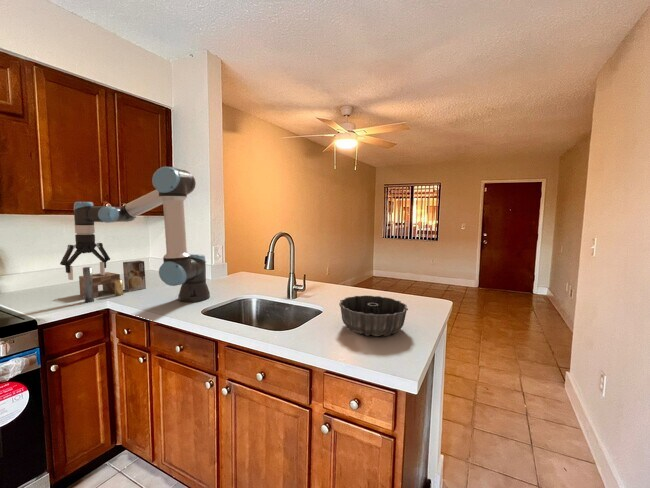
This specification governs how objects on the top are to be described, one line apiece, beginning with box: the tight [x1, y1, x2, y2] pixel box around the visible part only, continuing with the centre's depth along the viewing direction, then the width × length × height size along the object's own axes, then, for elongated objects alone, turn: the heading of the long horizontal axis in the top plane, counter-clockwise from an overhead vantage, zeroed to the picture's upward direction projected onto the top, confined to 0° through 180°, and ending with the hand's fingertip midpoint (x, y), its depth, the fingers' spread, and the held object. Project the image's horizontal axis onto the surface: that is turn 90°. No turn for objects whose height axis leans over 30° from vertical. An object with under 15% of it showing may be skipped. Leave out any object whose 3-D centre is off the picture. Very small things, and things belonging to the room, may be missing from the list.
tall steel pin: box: [82, 266, 95, 303], centre depth 153 cm, size 4×4×17 cm
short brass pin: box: [114, 279, 124, 297], centre depth 165 cm, size 4×4×8 cm
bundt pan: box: [338, 295, 409, 337], centre depth 122 cm, size 26×26×10 cm
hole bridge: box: [78, 271, 121, 298], centre depth 168 cm, size 12×14×10 cm
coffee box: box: [122, 260, 147, 292], centre depth 178 cm, size 9×6×16 cm
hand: (87, 277), depth 152 cm, fingers open, 13 cm apart
